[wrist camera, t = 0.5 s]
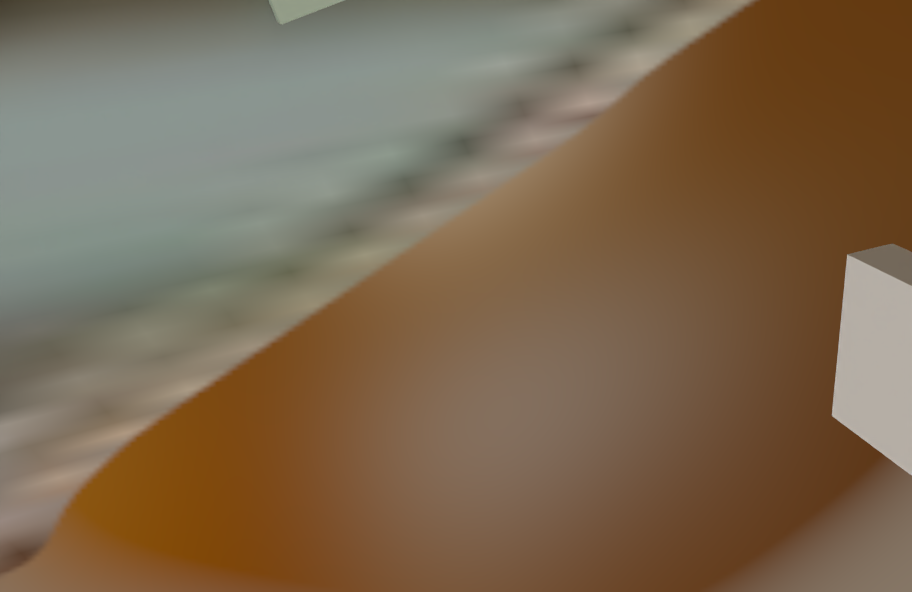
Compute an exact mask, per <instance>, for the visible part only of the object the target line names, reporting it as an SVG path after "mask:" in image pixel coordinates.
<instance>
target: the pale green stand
mask: <svg viewBox="0 0 912 592" xmlns="http://www.w3.org/2000/svg"><path fill="white" fill-rule="evenodd" d="M268 1H269V3H270V5H271V8H272V10H273V13H274V15H275V18H276V20H277V22H278V23H279V24H284V23H287V22H289V21H292V20H294V19H297V18H300V17H302V16H305V15H307V14H310V13H313V12H315V11H318V10H320V9H323V8H326V7H328V6H331V5H333V4H336V3H339V2H341V1H344V0H268Z"/></svg>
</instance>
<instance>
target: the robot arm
mask: <svg viewBox="0 0 912 592" xmlns="http://www.w3.org/2000/svg"><path fill="white" fill-rule="evenodd" d="M832 416H833V417H834V418H836V419H837V420H838V421H840V422H841V423H842V424H844V425H845V426H847V427H848V428H849V429H850V430H852V431H853V432H854V433H856V434H857V435H858V436H860V437H861V438H862V439H864V440H865V441H866V442H868V443H869V444H870V445H872V446H873V447H874V448H876V449H877V450H878V451H880V452H881V453H883V454H884V455H885V456H886V457H888V458H889V459H891V460H892V461H893V462H894V463H896V464H897V465H898V466H900V467H901V468H902V469H904V470H905V471H907V472H908V473H909V474H911V475H912V252H910V251H908V250H906V249H903V248H901V247H899V246H896V245H894V244H889V245H885V246H880V247H876V248H872V249H868V250H864V251H860V252H856V253H852V254H848V255H847V264H846V274H845V285H844V296H843V306H842V317H841V327H840V338H839V347H838V358H837V368H836V379H835V389H834V400H833V410H832Z"/></svg>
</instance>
